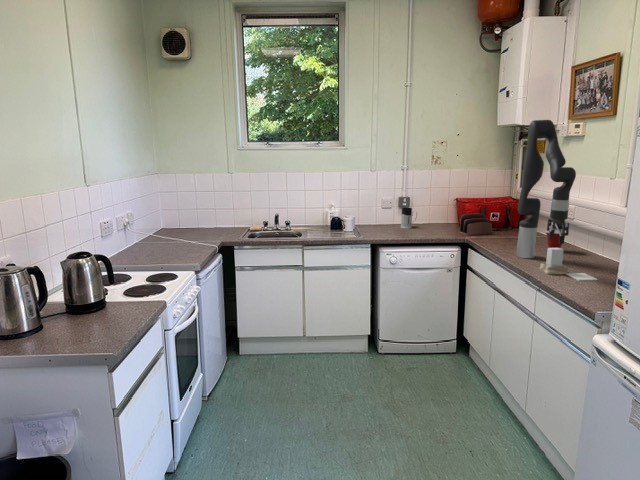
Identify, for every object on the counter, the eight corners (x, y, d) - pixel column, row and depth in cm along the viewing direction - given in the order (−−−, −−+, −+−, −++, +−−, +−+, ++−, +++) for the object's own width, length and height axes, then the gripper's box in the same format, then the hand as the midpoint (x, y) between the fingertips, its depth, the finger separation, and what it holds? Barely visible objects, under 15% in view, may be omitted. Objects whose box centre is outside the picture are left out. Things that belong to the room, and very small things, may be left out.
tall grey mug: (405, 225, 348) (406, 207, 345) (419, 228, 338) (420, 208, 335) (398, 227, 343) (398, 208, 340) (412, 229, 332) (413, 210, 329)
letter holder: (459, 233, 319) (460, 213, 317) (483, 231, 324) (484, 212, 321) (467, 235, 310) (468, 215, 307) (491, 234, 315) (493, 214, 312)
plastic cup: (552, 248, 270) (554, 228, 268) (568, 251, 260) (570, 231, 258) (539, 249, 266) (541, 230, 264) (554, 253, 257) (556, 233, 254)
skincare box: (556, 270, 222) (558, 247, 219) (561, 273, 217) (564, 249, 215) (544, 271, 221) (546, 247, 219) (549, 273, 217) (552, 249, 214)
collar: (539, 270, 223) (540, 263, 222) (558, 269, 223) (558, 263, 222) (547, 274, 215) (548, 267, 215) (567, 273, 216) (567, 267, 215)
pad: (565, 274, 214) (566, 273, 214) (583, 274, 215) (583, 273, 215) (578, 280, 205) (578, 279, 205) (597, 280, 205) (597, 279, 205)
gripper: (543, 207, 220) (540, 239, 223) (560, 211, 206) (557, 245, 209) (558, 207, 220) (555, 239, 223) (576, 210, 206) (572, 244, 209)
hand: (556, 241), depth 216 cm, fingers open, 8 cm apart
